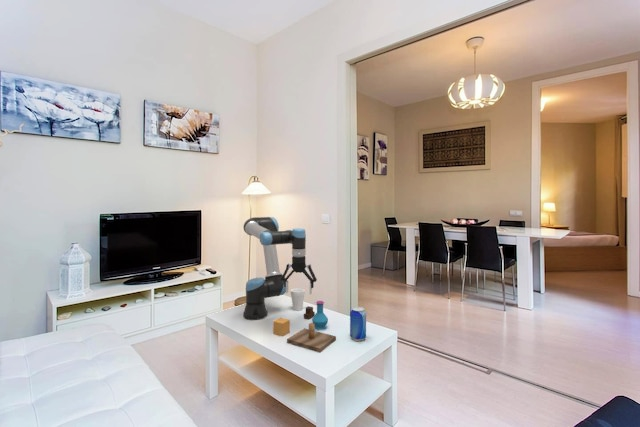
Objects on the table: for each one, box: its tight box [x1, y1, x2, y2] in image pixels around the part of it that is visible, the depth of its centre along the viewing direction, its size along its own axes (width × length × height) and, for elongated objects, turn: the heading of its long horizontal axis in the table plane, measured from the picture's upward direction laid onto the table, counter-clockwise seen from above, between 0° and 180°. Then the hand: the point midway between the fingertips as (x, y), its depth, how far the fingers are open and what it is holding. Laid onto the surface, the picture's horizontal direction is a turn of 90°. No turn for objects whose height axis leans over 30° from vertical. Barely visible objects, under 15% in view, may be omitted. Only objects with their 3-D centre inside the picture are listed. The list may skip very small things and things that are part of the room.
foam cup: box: [290, 287, 306, 312], centre depth 210 cm, size 10×9×13 cm
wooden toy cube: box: [272, 317, 291, 337], centre depth 172 cm, size 6×6×7 cm
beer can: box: [349, 306, 367, 342], centre depth 165 cm, size 8×8×16 cm
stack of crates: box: [303, 306, 316, 320], centre depth 195 cm, size 15×15×7 cm
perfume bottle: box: [311, 300, 329, 331], centre depth 179 cm, size 9×9×15 cm
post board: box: [286, 322, 337, 353], centre depth 161 cm, size 20×16×9 cm
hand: (298, 293), depth 175 cm, fingers open, 13 cm apart
